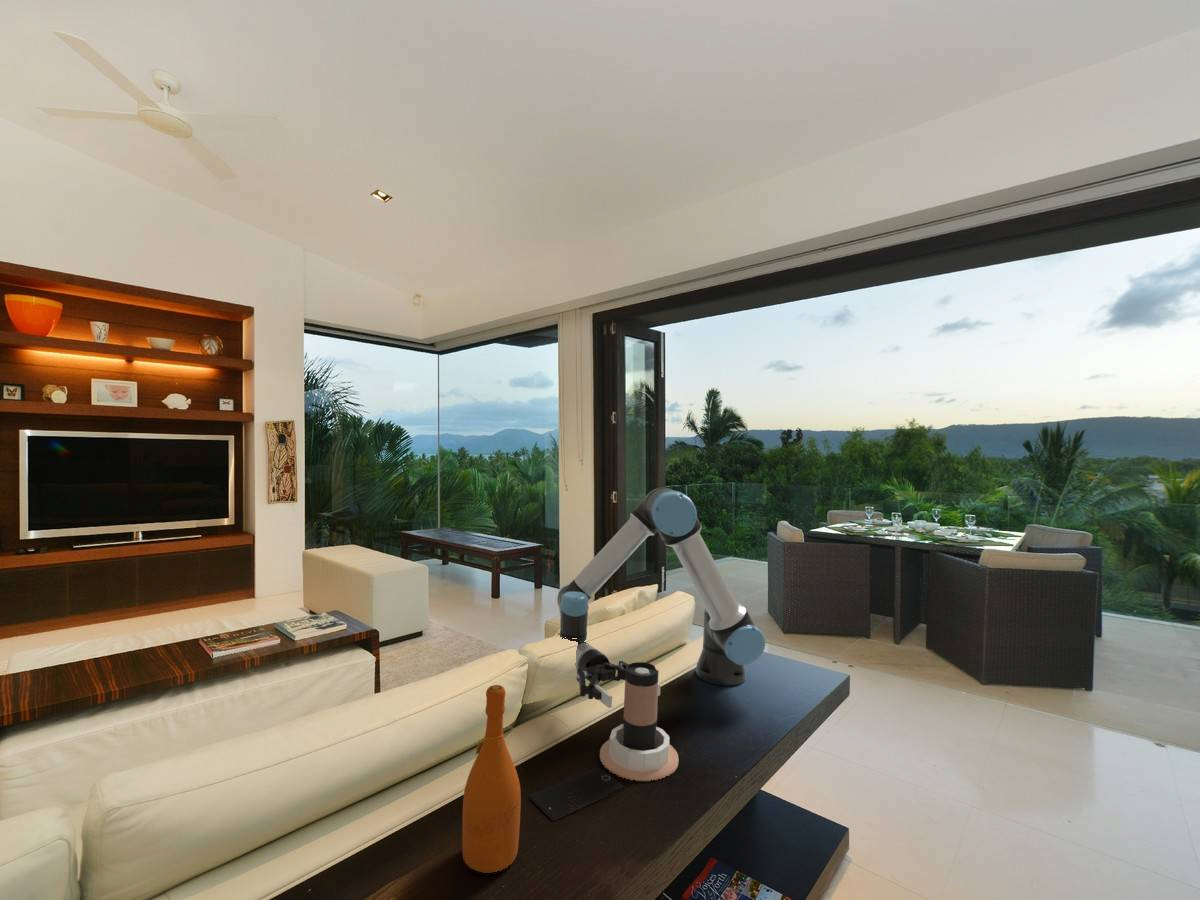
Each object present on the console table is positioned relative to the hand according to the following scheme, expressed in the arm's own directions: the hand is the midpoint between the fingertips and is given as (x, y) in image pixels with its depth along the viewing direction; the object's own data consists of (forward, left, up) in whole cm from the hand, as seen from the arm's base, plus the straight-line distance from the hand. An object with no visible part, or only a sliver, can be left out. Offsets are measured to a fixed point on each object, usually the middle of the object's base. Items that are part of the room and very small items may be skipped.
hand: (635, 696), depth 136 cm
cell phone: (+9, +18, -14) cm, 24 cm away
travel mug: (-1, +2, -13) cm, 13 cm away
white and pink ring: (-2, +2, -13) cm, 14 cm away
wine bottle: (+20, +39, -14) cm, 46 cm away
